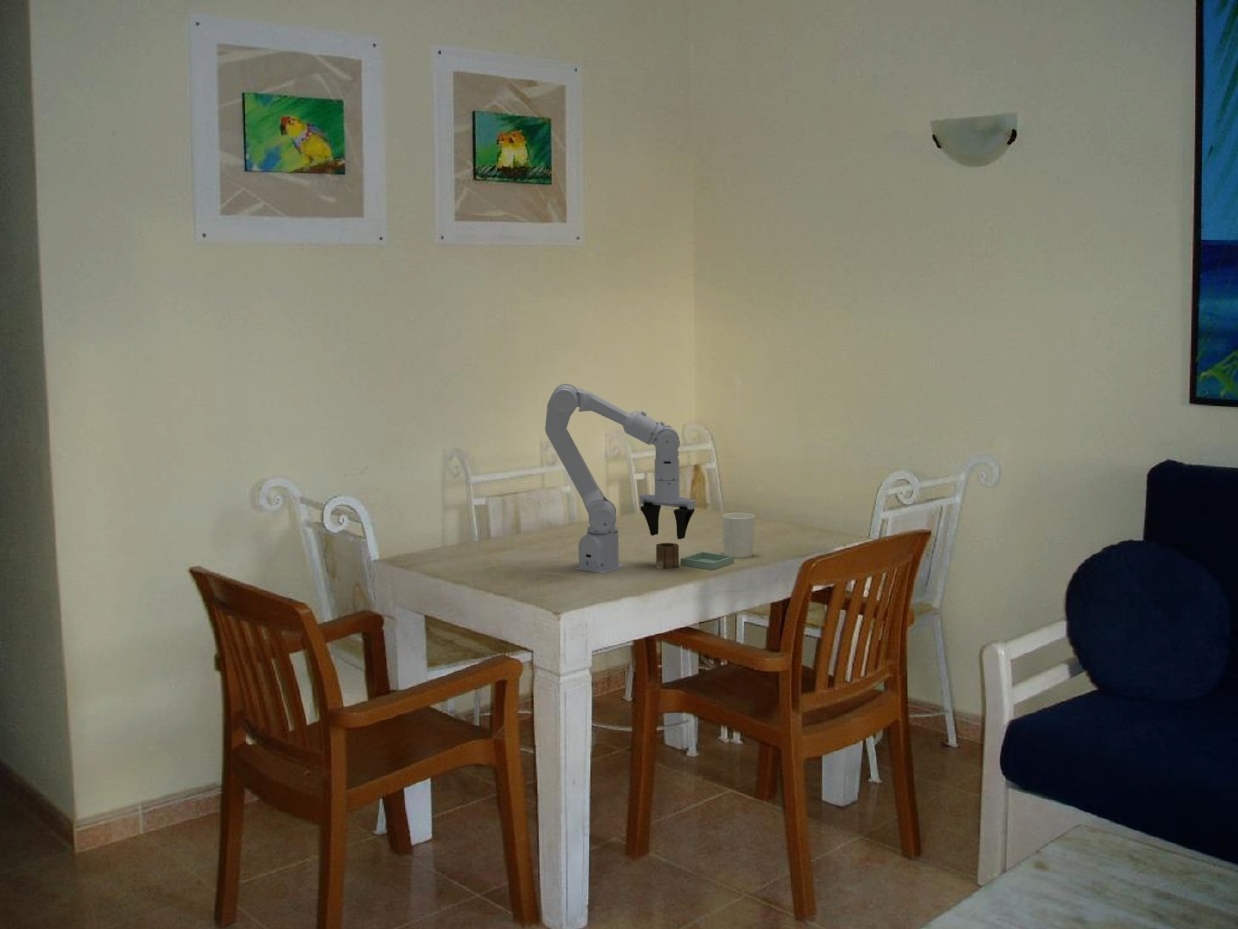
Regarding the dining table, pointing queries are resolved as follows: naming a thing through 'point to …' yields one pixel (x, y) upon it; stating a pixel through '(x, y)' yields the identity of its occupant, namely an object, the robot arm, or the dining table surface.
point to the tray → (707, 560)
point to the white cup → (738, 534)
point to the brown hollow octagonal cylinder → (667, 555)
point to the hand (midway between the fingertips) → (667, 536)
